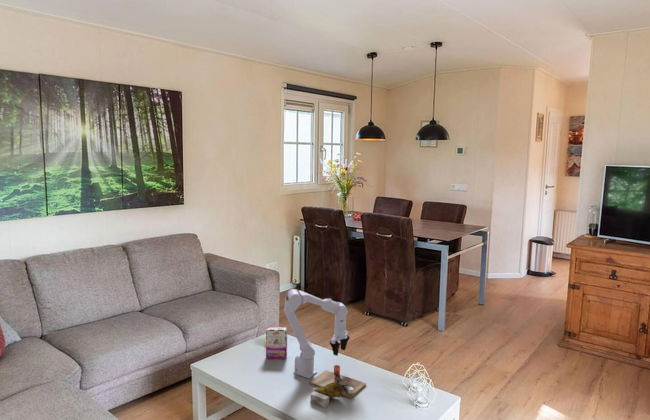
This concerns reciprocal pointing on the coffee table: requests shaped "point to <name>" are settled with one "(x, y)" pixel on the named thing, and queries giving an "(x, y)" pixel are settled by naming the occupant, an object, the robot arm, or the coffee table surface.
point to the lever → (342, 380)
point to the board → (329, 378)
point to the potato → (331, 390)
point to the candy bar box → (276, 342)
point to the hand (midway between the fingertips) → (339, 352)
